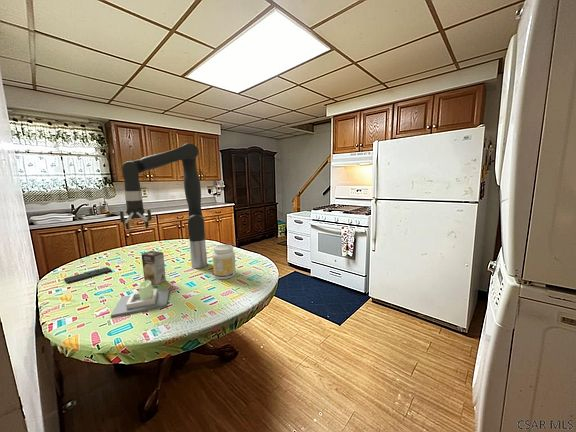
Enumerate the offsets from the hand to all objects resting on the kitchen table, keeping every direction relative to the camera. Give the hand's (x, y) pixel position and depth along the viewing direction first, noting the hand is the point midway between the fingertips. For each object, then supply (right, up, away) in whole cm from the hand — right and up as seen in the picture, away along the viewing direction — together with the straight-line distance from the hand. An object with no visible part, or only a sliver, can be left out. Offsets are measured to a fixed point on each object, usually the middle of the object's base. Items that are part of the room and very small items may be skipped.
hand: (137, 228), depth 127 cm
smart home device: (-33, -28, +8) cm, 44 cm away
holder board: (+17, -32, -23) cm, 43 cm away
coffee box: (+10, -29, -1) cm, 31 cm away
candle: (+19, -31, -22) cm, 43 cm away
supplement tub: (+47, -27, +5) cm, 54 cm away
